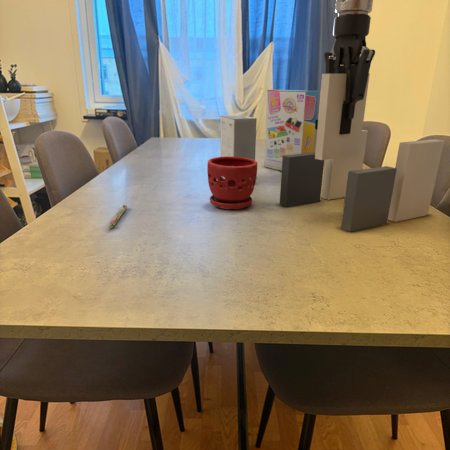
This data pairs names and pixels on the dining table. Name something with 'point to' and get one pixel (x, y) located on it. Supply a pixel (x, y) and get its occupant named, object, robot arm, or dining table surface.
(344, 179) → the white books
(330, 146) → the white book
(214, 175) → the flower pot
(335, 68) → the robot arm
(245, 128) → the hard drive box
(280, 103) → the game box
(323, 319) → the dining table surface
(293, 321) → the dining table surface
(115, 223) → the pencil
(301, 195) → the grey books
